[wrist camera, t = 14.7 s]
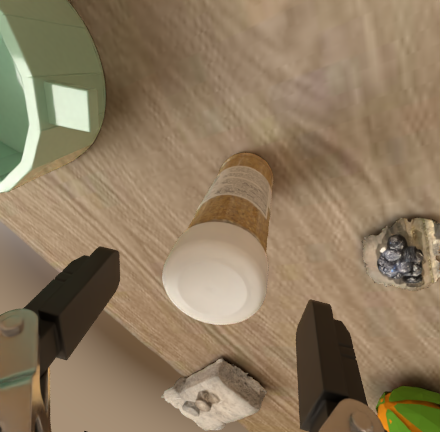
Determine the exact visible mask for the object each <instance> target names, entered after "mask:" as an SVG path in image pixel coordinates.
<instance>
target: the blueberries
mask: <svg viewBox="0 0 440 432" xmlns="http://www.w3.org/2000/svg"><path fill="white" fill-rule="evenodd" d="M385 227H386V228H383V229H382V232H381V233H380V234H379V235H376V236H374V235H369V237H365V241H362V243H363V244H364V245H365V247H364V248H363V257H364V260H363V261H364V262H366V263H367V266H365V267H366V268H367V269H368V270H367V274H368V276H370V277H371V278H372V279H373V280H374V283H378V284H379V283H381V284H384V286H386V287H387V286H391V285H394V286H396V288H398V287H401V288H402V289H408V290H409V291H416V290H417V291H418V290H421V289H423V288H425V287H427V288H429V285H430V284H433V283H435V282H437V279H438V278H439V277H440V273H439V271H440V270H439V268H440V262H439V261H437V260H436V258H435V256H436V255H440V254H438V253H439V252H440V251H438V250H439V246H440V224H439V223H437V222H435V221H434V220H431V219H430V220H429V219H424V218H419V217H418V218H413V219H412V220H411V222H408V219H407V218H406V219H405V218H400V219H399V220H396V222H395V224H393V226H392V227H387V226H385ZM375 266H376V267H375Z"/></svg>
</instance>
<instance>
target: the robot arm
mask: <svg viewBox="0 0 440 432" xmlns="http://www.w3.org/2000/svg"><path fill="white" fill-rule="evenodd" d="M119 281H120V261H119V252H118V251H117V250H113V249H109V248H105V247H98V248H97V249H96V250H95V251H94V252H93V253H92V254H91V255H90V256H85V255H84V256H82V257H80V258H78V259H76V260H74V261H72V262H71V263H70V264H69V265H68V266H67V267H66V268H65V269H64V270H63V272H61V273H60V274H58V276H56V278H55V280H52V281H51V282H50V283H49V284H48V285H47V286H46V287H45V288H44V289H43V290H42V291H41V292H40V293H39V294H38V295H37V296H36V297H35V298H34V299H33V300H32V301H31V302H30V303H29V304H28V305H27V306H26V307H24V308H23V309H15V310H11V311H8V312H5V313H3V314H1V315H0V432H51V424H50V367H49V366H50V365H51V363H52V362H53V360H54V359H55V358H56V357H57V358H60V359H64V360H67V359H68V358H69V357H70V355H71V354H72V352H73V351H74V349H75V348H76V347H77V345H78V344H79V342H80V341H81V340H82V338H83V337H84V335H85V334H86V333H87V331H88V330H89V328H90V327H91V326H92V324H93V323H94V321H95V320H96V319H97V317H98V315H99V314H100V313H101V312H102V310H103V309H104V307H105V306H106V305H107V303H108V302H109V300H110V299H111V298H112V296H113V295H114V293H115V292H116V290H117V288H118V285H119ZM296 354H297V375H298V395H299V415H300V429H302V430H305V431H309V432H388V431H386V430H385V429H384V427H383V425H382V423H381V421H380V419H379V418H378V416H377V415H376V414H375V413H374V411H373V410H371V409H370V408H369V407H368V404H367V401H366V397H365V393H364V389H363V385H362V381H361V377H360V373H359V368H358V364H357V360H355V359H356V356H355V352H354V349H353V344H352V340H351V336H350V333H349V332H348V330H347V329H346V327H345V326H344V324H343V323H342V321H338V320H335V319H333V314H332V309H331V306H330V304H327V303H323V302H319V301H315V300H309V302H308V304H307V306H306V308H305V311H304V313H303V315H302V318H301V320H300V322H299V325H298V328H297V333H296ZM84 432H86V431H84Z"/></svg>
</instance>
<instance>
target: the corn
mask: <svg viewBox="0 0 440 432" xmlns="http://www.w3.org/2000/svg"><path fill="white" fill-rule="evenodd" d="M435 403H436V404H435ZM437 404H440V394H439V393H436V392H432V391H429V390H426V389H423V388H419V387H409V386H401V387H399V388H396V389H394V390H393V391H392V392H384V394H383V395H382V396H381V397H380V399H379V402H378V404H377V406H376V410H377V413H378V418H379V419H380V421H381V423H382V425H383V427H384V429H385V430H386V431H388V432H440V407H439V406H438V405H437Z"/></svg>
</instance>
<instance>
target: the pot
mask: <svg viewBox="0 0 440 432" xmlns="http://www.w3.org/2000/svg"><path fill="white" fill-rule="evenodd" d="M105 106H106V89H105V79H104V74H103V69H102V65H101V61H100V58H99V55H98V52H97V49H96V47H95V44H94V42H93V40H92V37H91V35H90V33H89V32H88V30H87V28H86V26H85V24H84V22H83V21H82V19H81V18H80V16H79V15H78V13H77V12H76V10H75V9H74V8H73V6H72V5H71V4H70V3H69V2H68V0H0V193H4V192H9V191H11V190H13V189H15V188H18V187H20V186H22V185H24V184H26V183H28V182H30V181H32V180H34V179H37V178H39V177H41V176H43V175H45V174H47V173H49V172H51V171H53V170H56V169H58V168H60V167H62V166H64V165H66V164H68V163H70V162H72V161H74V160H75V159H76V158H77V157H79V156H80V155H81V154H83V153H84V152H85V151H86V150H87V149H88V148H89V147H90V146H91V145H92V144H93V143H94V140H95V139H96V137H97V135H98V133H99V131H100V129H101V126H102V122H103V119H104V113H105Z"/></svg>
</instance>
